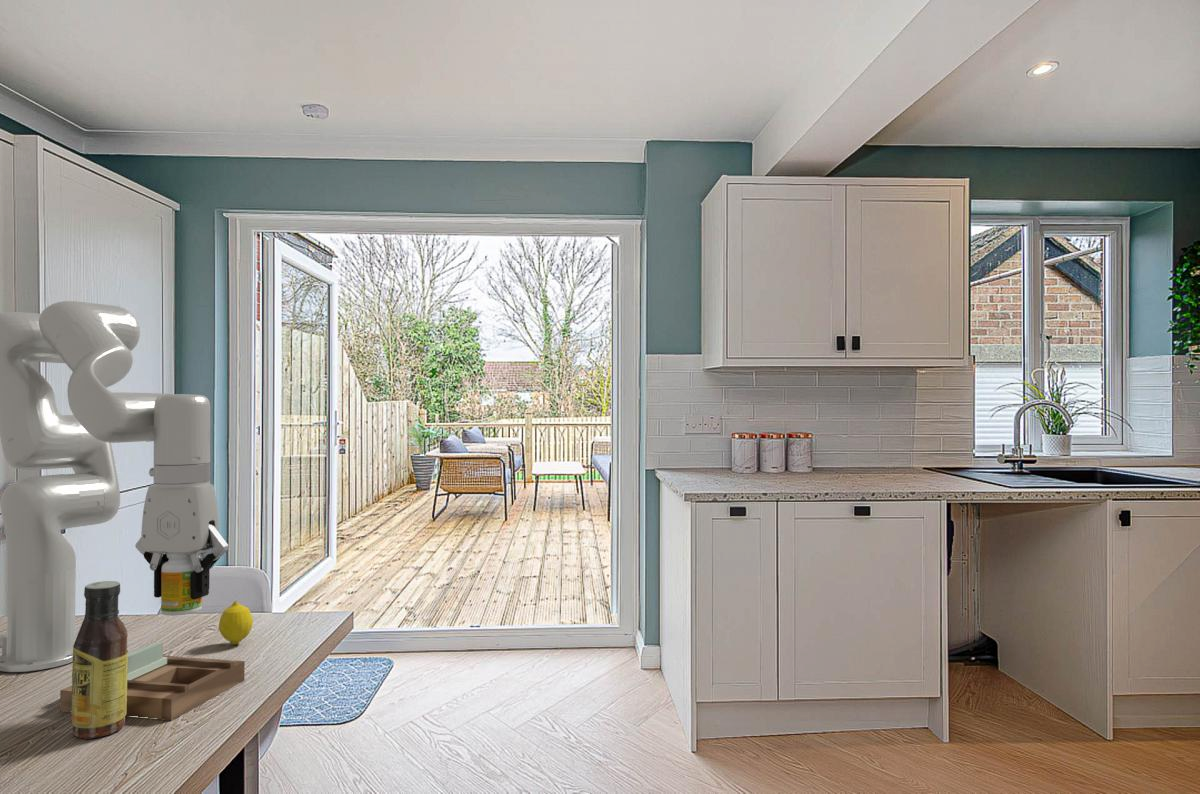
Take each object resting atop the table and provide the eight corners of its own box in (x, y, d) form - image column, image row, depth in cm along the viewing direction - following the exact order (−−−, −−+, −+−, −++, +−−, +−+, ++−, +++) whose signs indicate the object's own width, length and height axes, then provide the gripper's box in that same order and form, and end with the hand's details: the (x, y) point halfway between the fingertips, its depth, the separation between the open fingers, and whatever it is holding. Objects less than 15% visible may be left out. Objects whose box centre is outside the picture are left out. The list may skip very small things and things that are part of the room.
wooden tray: (60, 711, 109) (60, 684, 109) (145, 672, 125) (145, 649, 125) (171, 720, 106) (171, 693, 106) (244, 680, 122) (244, 656, 122)
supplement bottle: (184, 617, 112) (184, 550, 112) (152, 615, 113) (152, 549, 113) (209, 607, 117) (210, 544, 117) (179, 606, 118) (179, 543, 118)
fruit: (230, 651, 136) (231, 606, 136) (212, 646, 139) (212, 602, 139) (258, 643, 141) (259, 599, 141) (240, 638, 144) (240, 595, 144)
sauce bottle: (66, 731, 103) (68, 583, 103) (120, 717, 107) (121, 575, 107) (77, 746, 98) (78, 591, 98) (132, 732, 103) (134, 583, 103)
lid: (75, 679, 113) (75, 655, 113) (120, 660, 122) (120, 638, 122) (124, 682, 112) (125, 658, 112) (167, 663, 120) (167, 641, 120)
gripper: (112, 477, 113) (112, 600, 113) (216, 479, 110) (215, 605, 110) (151, 472, 121) (150, 588, 120) (249, 474, 118) (248, 592, 117)
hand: (181, 594), depth 115 cm, fingers closed on supplement bottle, 5 cm apart
